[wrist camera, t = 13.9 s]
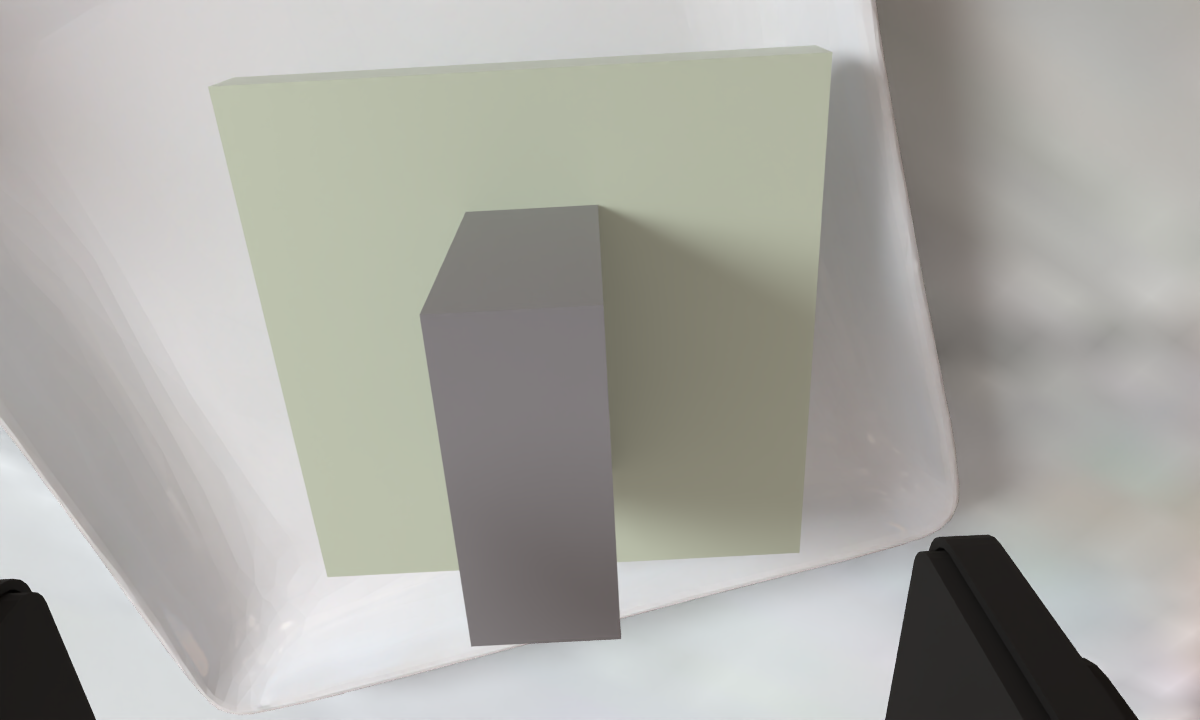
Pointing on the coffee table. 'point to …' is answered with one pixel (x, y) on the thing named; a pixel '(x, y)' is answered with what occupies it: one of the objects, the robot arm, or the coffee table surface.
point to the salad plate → (243, 350)
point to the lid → (540, 313)
